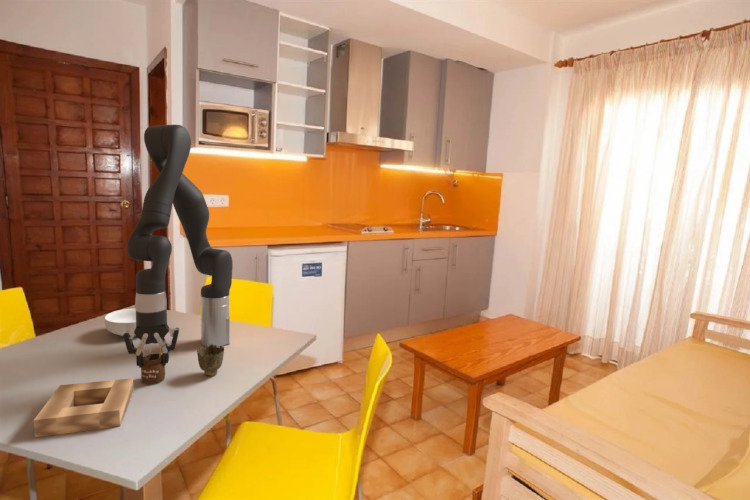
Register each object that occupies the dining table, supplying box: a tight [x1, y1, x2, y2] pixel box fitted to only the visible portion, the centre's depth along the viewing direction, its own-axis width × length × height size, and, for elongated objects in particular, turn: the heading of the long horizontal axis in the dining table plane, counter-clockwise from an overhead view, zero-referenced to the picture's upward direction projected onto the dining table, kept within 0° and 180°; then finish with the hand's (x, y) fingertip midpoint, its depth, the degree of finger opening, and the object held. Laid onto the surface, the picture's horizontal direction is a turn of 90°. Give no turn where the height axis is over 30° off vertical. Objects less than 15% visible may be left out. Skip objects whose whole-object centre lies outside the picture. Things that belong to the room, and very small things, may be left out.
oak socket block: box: [33, 377, 134, 438], centre depth 99 cm, size 16×16×4 cm
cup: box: [196, 344, 225, 377], centre depth 122 cm, size 8×7×8 cm
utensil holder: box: [140, 339, 166, 386], centre depth 116 cm, size 6×6×12 cm
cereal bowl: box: [104, 307, 137, 338], centre depth 149 cm, size 17×17×7 cm
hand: (152, 365), depth 116 cm, fingers closed on utensil holder, 5 cm apart
